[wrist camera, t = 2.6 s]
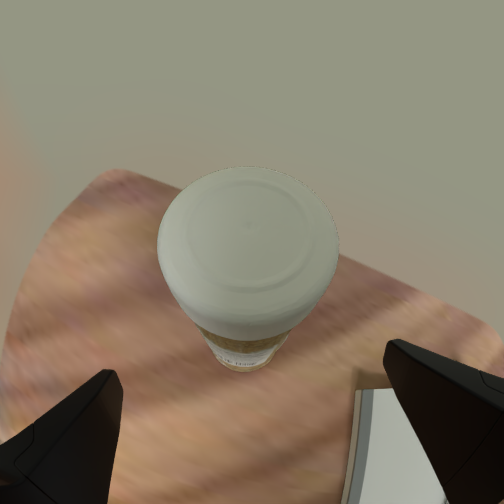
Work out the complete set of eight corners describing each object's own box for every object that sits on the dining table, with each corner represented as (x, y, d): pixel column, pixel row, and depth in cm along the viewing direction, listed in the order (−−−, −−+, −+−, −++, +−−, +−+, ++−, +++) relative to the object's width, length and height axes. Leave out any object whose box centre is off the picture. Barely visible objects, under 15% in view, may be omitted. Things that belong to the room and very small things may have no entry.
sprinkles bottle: (290, 331, 19) (371, 214, 7) (251, 386, 17) (277, 369, 5) (235, 294, 20) (231, 138, 8) (194, 345, 18) (115, 244, 6)
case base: (439, 526, 10) (455, 533, 8) (328, 555, 10) (337, 569, 8) (461, 381, 17) (481, 376, 15) (355, 390, 17) (370, 388, 15)
